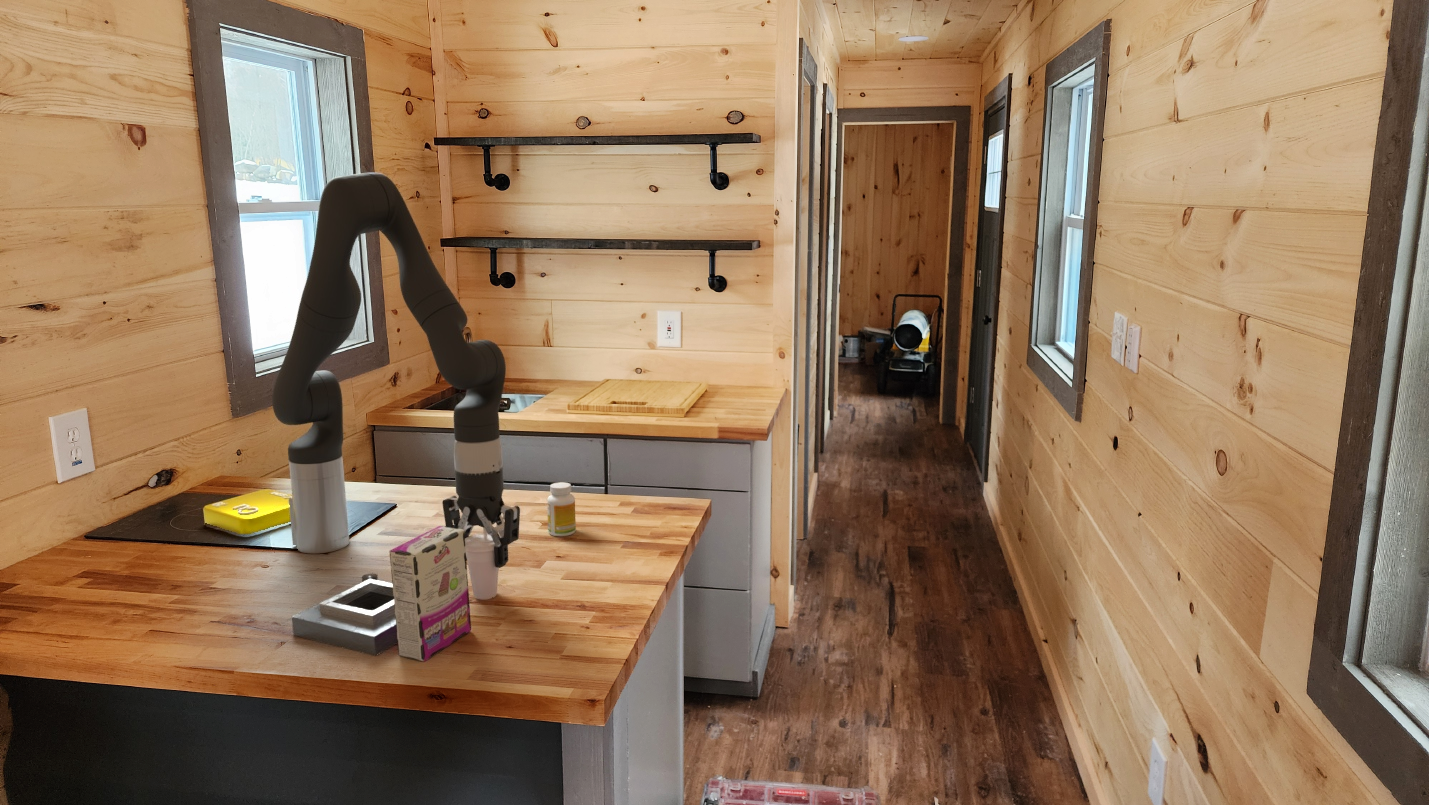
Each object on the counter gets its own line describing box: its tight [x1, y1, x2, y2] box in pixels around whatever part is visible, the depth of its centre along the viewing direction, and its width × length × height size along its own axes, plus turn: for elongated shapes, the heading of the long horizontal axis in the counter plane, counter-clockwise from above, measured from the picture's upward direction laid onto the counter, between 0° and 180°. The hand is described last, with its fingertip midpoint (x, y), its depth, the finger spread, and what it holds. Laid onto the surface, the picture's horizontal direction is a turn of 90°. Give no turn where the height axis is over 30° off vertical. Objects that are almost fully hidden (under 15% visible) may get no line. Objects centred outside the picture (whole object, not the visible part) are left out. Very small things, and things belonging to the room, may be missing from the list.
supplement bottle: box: [546, 481, 577, 537], centre depth 185 cm, size 5×5×10 cm
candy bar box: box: [388, 525, 472, 662], centre depth 138 cm, size 11×5×16 cm, turn 157°
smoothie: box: [465, 527, 501, 600], centre depth 155 cm, size 6×6×14 cm
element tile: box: [202, 488, 292, 534], centre depth 191 cm, size 15×15×5 cm
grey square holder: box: [291, 572, 398, 657], centre depth 145 cm, size 16×16×4 cm
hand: (483, 562), depth 155 cm, fingers closed on smoothie, 6 cm apart
